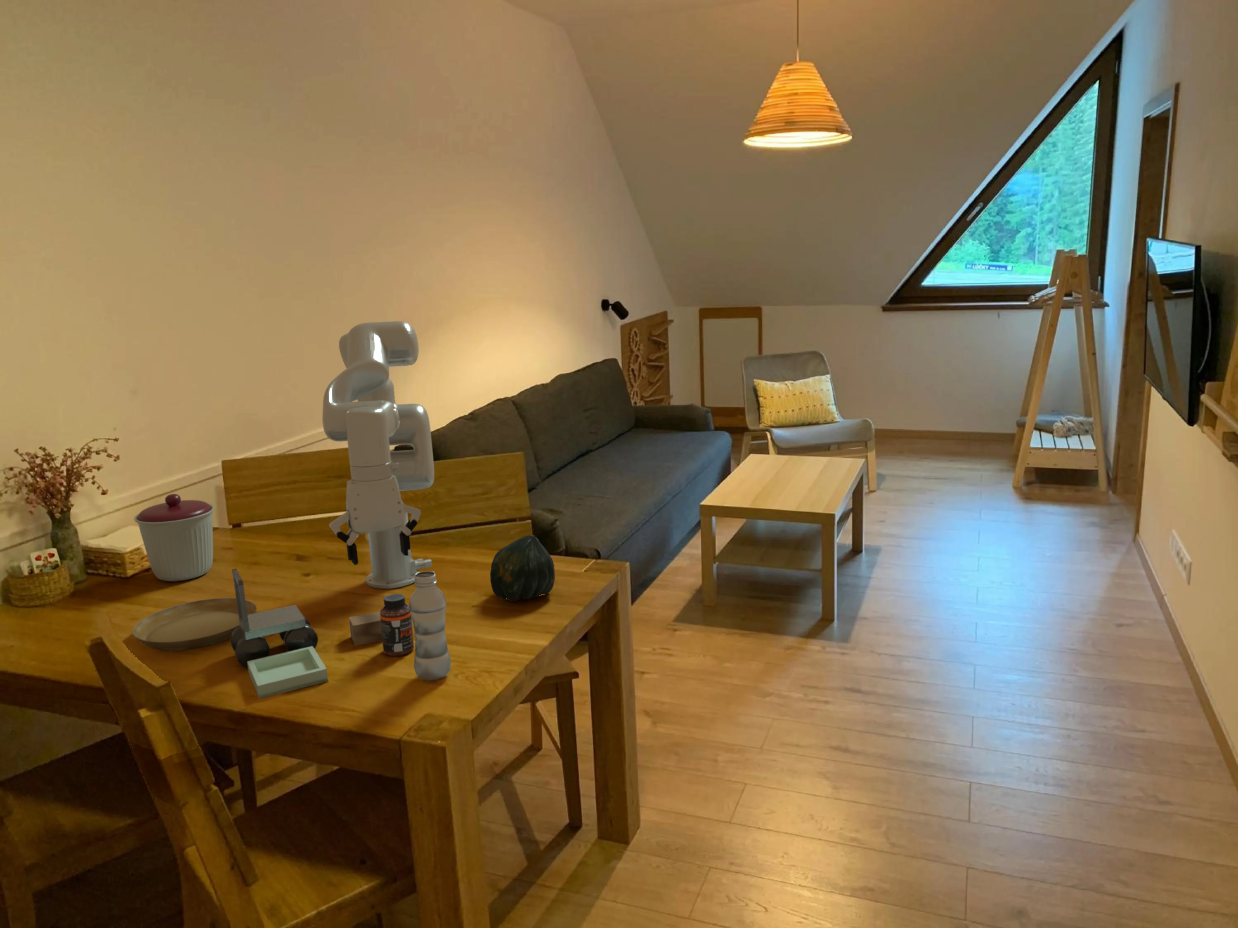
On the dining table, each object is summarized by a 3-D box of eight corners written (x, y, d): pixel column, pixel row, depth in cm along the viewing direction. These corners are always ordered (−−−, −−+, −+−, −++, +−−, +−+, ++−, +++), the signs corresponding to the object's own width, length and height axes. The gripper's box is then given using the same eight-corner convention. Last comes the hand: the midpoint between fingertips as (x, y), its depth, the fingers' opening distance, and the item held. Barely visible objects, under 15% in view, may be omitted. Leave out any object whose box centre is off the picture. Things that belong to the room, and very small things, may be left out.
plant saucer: (116, 636, 190) (113, 622, 190) (227, 602, 208) (225, 589, 207) (163, 667, 175) (161, 651, 174) (279, 627, 192) (277, 613, 191)
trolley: (309, 636, 186) (300, 556, 182) (319, 652, 178) (309, 568, 174) (232, 654, 178) (220, 571, 174) (238, 671, 171) (226, 584, 167)
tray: (314, 657, 176) (312, 645, 175) (328, 681, 166) (326, 668, 165) (248, 673, 170) (247, 661, 169) (259, 698, 160) (257, 685, 159)
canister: (238, 569, 230) (227, 489, 225) (171, 592, 215) (158, 507, 210) (196, 559, 239) (184, 482, 234) (129, 580, 224) (115, 499, 220)
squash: (468, 574, 203) (497, 533, 195) (514, 558, 215) (543, 519, 207) (503, 624, 199) (535, 584, 191) (548, 604, 211) (580, 566, 202)
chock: (385, 630, 188) (383, 610, 187) (390, 639, 184) (388, 618, 183) (351, 637, 185) (348, 617, 184) (355, 646, 181) (352, 625, 180)
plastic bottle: (417, 670, 169) (408, 569, 164) (453, 667, 169) (445, 567, 165) (412, 686, 162) (402, 581, 158) (450, 683, 163) (441, 579, 158)
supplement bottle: (406, 658, 174) (401, 603, 171) (378, 656, 175) (372, 602, 173) (419, 645, 180) (414, 592, 177) (391, 643, 181) (386, 590, 178)
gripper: (411, 462, 177) (418, 545, 181) (320, 475, 169) (330, 561, 173) (421, 469, 171) (429, 555, 174) (328, 482, 163) (338, 572, 167)
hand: (380, 558), depth 174 cm, fingers open, 9 cm apart
